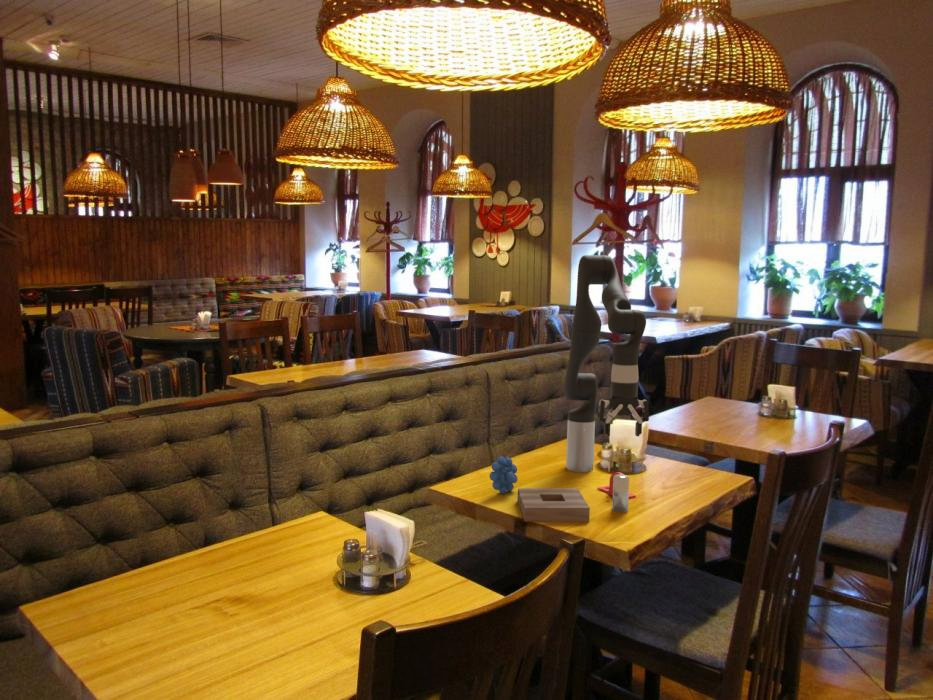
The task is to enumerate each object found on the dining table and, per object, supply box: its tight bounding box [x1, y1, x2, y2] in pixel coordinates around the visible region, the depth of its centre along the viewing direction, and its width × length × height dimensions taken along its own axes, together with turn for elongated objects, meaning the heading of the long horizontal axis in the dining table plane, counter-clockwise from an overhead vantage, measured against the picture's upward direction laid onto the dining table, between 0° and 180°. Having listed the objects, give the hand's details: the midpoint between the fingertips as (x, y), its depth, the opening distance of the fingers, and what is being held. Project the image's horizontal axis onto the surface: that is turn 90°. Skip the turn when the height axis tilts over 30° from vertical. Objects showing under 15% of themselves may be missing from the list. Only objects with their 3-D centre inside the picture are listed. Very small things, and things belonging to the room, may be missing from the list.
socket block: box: [517, 487, 591, 523], centre depth 222 cm, size 18×18×4 cm
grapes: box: [489, 456, 519, 495], centre depth 237 cm, size 12×7×12 cm, turn 133°
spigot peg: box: [611, 474, 630, 513], centre depth 224 cm, size 4×4×10 cm
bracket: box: [596, 471, 637, 500], centre depth 239 cm, size 12×4×8 cm, turn 34°
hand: (622, 435), depth 222 cm, fingers open, 8 cm apart
